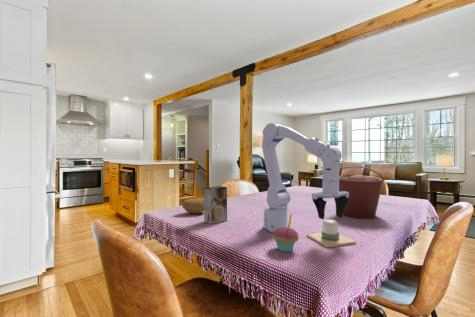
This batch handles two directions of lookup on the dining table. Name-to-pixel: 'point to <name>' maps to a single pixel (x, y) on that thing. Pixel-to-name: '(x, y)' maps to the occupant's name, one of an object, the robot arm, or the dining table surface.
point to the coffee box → (215, 204)
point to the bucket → (361, 195)
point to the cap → (330, 227)
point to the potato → (194, 205)
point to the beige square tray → (331, 239)
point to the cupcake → (285, 237)
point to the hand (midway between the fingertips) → (330, 217)
